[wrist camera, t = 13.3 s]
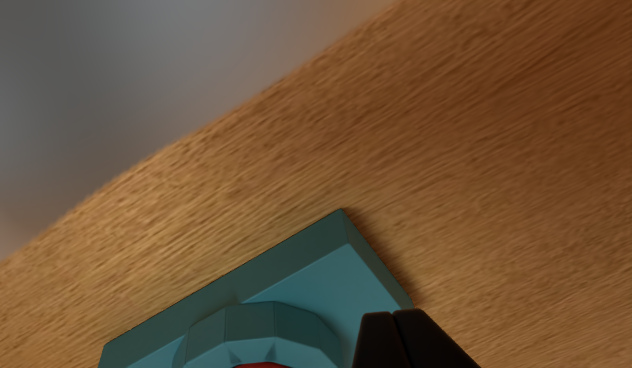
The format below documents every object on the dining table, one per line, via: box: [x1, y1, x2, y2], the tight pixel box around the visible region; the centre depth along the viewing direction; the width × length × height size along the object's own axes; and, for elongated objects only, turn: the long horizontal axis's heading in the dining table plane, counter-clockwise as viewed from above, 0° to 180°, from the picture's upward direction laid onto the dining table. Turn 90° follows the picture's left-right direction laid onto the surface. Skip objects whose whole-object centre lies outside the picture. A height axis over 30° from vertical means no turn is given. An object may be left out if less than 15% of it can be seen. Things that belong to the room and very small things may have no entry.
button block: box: [98, 209, 414, 368], centre depth 23 cm, size 12×6×4 cm, turn 123°
